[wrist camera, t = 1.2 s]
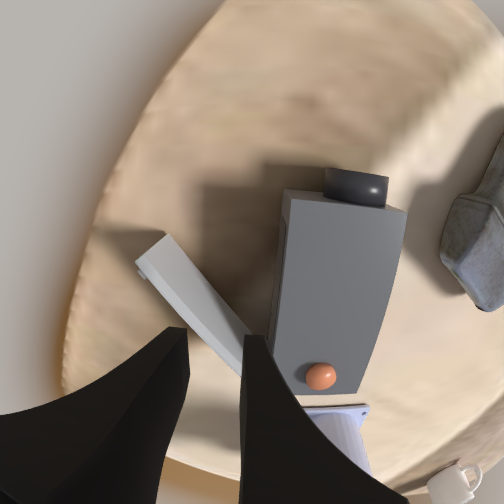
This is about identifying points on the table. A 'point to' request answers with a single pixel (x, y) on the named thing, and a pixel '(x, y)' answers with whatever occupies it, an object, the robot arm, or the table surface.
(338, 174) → the camera body
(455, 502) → the mug
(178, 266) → the side door
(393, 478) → the table surface
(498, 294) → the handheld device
